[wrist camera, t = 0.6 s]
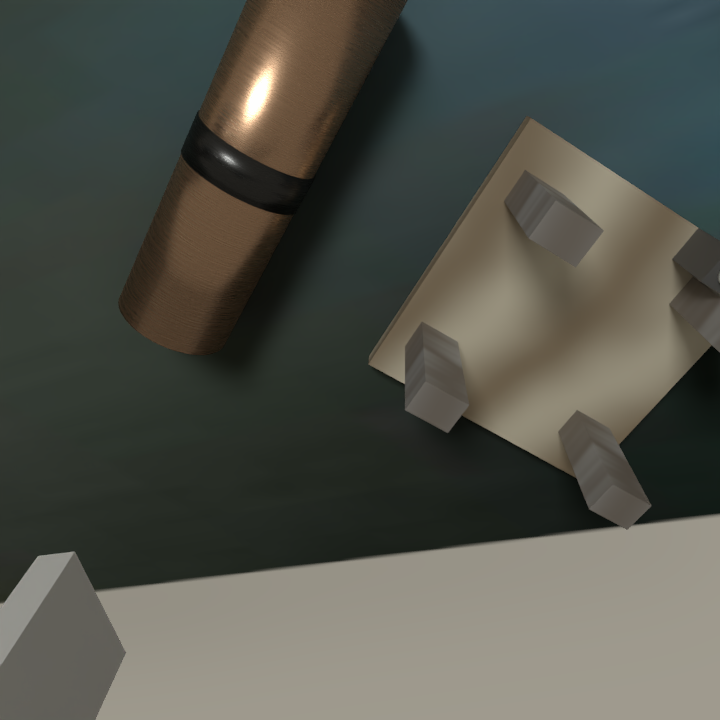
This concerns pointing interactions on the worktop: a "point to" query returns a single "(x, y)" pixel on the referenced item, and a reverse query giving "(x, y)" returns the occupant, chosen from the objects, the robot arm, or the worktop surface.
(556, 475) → the worktop surface
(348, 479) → the worktop surface
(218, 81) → the tube
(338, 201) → the worktop surface
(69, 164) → the worktop surface
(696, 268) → the post
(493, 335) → the board
